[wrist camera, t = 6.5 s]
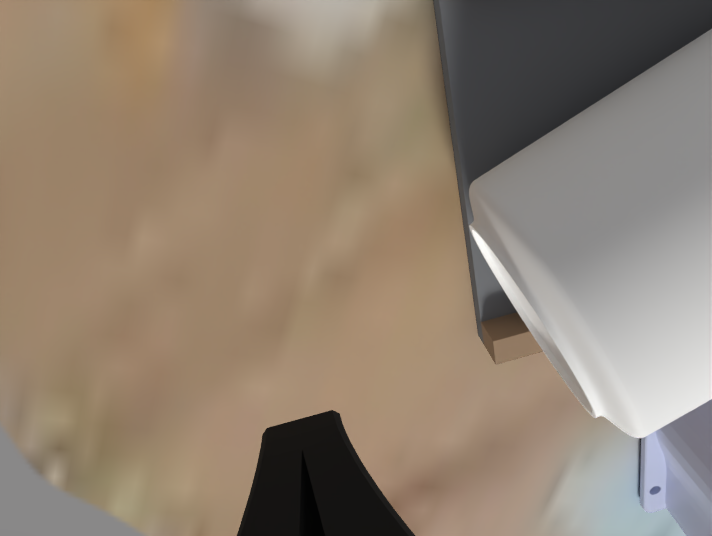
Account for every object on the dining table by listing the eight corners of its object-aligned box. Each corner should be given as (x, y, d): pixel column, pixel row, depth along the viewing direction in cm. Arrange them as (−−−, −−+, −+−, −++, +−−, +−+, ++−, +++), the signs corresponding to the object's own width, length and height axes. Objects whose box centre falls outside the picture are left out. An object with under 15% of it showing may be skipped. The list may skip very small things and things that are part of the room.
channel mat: (774, 253, 25) (811, 276, 23) (478, 335, 24) (496, 364, 23) (829, -149, 18) (885, -154, 17) (426, -51, 18) (445, -47, 16)
